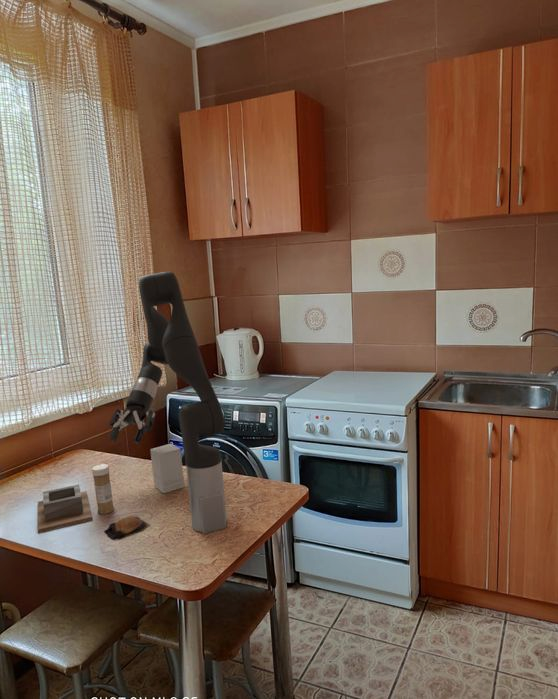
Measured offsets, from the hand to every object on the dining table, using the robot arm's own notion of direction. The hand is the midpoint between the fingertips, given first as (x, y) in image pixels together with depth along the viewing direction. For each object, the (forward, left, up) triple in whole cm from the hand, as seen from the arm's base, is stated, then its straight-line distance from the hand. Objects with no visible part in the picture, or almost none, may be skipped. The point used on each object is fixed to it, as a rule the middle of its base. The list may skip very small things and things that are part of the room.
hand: (124, 441), depth 166 cm
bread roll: (-23, +4, -18) cm, 29 cm away
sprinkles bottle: (-8, +8, -17) cm, 21 cm away
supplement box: (-1, -12, -17) cm, 21 cm away
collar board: (-2, +19, -17) cm, 26 cm away
